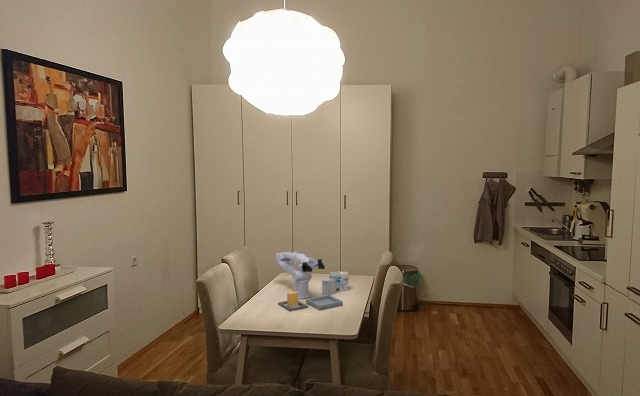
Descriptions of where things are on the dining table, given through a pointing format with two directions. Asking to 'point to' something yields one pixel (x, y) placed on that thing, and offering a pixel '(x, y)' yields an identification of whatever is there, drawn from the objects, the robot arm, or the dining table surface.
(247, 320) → the dining table surface
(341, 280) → the white printed carton
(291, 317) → the dining table surface
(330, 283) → the medicine box
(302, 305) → the holder frame
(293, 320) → the dining table surface
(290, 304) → the block
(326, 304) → the parts tray
